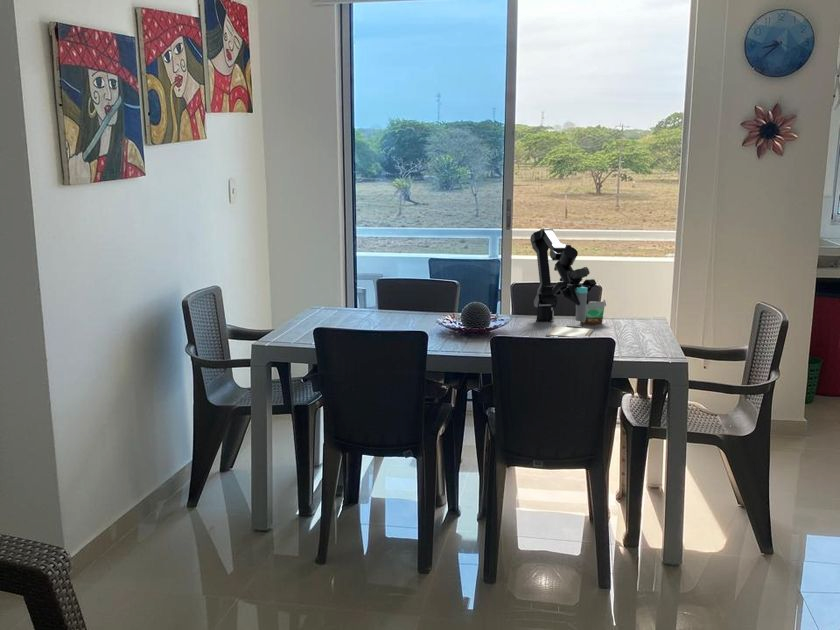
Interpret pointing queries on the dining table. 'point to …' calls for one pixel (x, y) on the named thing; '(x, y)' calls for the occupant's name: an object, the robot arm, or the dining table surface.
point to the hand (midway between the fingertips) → (583, 304)
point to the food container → (594, 313)
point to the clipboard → (570, 331)
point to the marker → (581, 304)
